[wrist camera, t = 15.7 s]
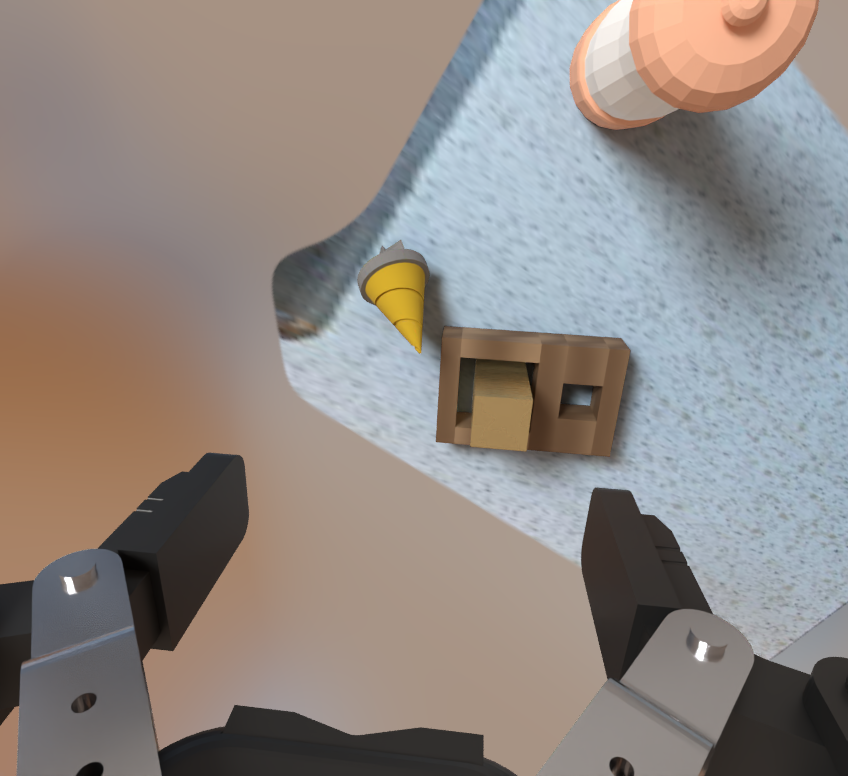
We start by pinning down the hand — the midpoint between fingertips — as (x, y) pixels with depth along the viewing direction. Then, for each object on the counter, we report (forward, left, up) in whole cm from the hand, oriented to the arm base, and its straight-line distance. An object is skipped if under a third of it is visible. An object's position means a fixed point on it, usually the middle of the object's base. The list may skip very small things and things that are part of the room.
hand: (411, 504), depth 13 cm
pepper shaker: (-10, -13, -33) cm, 37 cm away
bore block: (-6, +10, -33) cm, 35 cm away
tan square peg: (-4, +10, -33) cm, 35 cm away
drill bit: (+4, +2, -33) cm, 34 cm away
